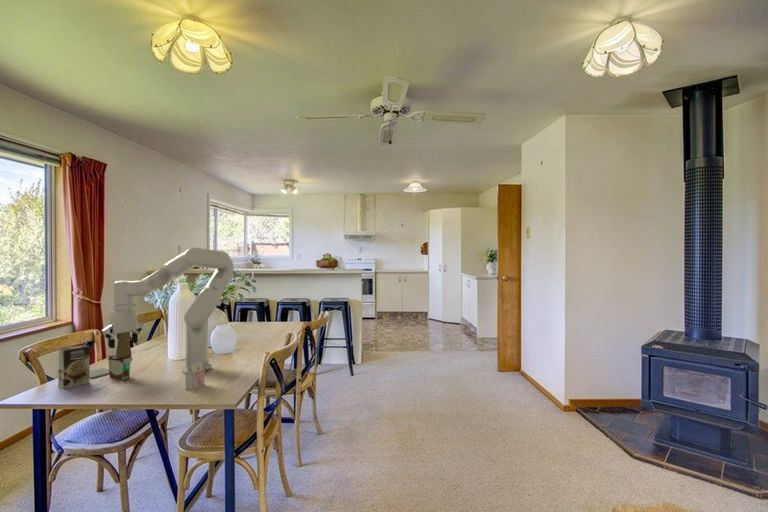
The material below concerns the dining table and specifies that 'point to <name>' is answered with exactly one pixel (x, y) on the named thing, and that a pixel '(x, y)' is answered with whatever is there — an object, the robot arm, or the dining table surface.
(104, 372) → the slate coaster
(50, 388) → the dining table surface
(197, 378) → the red printed box
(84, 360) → the coffee box
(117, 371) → the food container
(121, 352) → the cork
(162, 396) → the dining table surface
